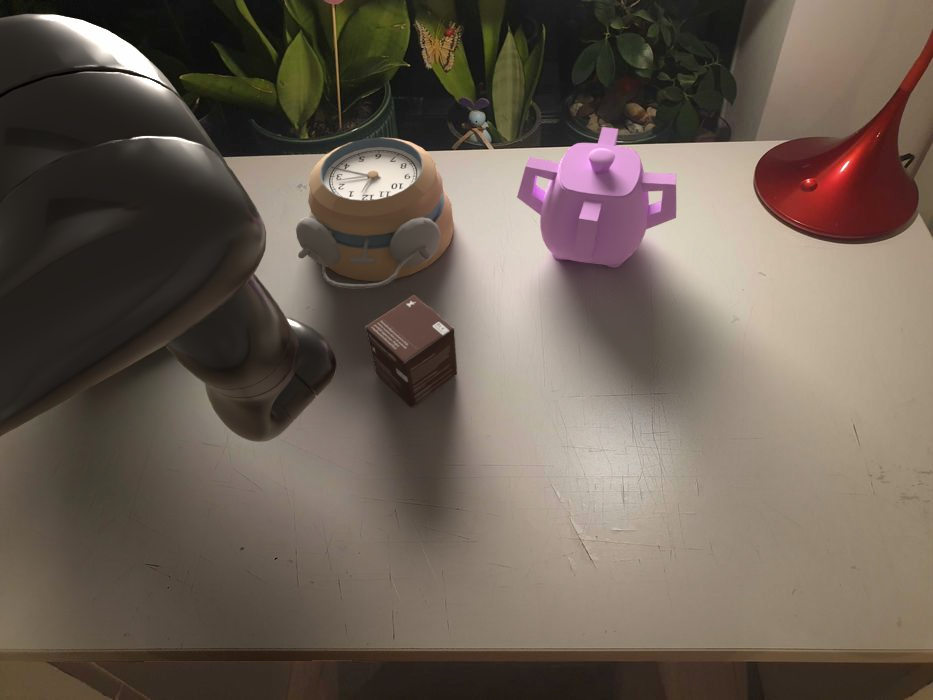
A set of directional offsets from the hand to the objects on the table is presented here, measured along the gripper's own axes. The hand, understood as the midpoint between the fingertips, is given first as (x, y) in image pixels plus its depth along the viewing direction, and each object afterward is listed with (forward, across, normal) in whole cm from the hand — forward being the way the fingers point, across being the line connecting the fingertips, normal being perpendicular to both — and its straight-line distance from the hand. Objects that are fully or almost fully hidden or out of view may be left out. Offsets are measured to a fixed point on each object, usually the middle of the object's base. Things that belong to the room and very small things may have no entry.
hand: (84, 216), depth 70 cm
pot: (-38, -39, +9) cm, 55 cm away
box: (-36, -12, +9) cm, 39 cm away
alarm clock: (-20, -23, +9) cm, 31 cm away
